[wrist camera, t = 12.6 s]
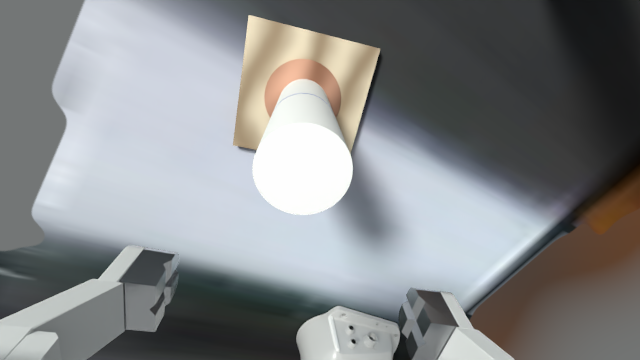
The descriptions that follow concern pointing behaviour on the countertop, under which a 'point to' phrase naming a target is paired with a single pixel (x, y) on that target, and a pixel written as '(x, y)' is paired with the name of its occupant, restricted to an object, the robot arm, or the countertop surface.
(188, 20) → the countertop surface
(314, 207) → the cylindrical container
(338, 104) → the seat board
